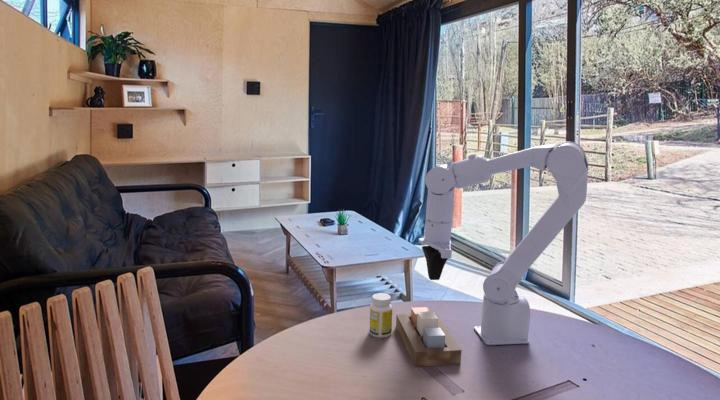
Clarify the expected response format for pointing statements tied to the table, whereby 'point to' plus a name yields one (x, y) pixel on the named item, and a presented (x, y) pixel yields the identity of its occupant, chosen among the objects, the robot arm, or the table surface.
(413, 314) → the red key
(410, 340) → the key block
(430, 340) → the blue key
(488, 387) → the table surface
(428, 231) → the robot arm
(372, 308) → the supplement bottle
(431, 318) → the white key
